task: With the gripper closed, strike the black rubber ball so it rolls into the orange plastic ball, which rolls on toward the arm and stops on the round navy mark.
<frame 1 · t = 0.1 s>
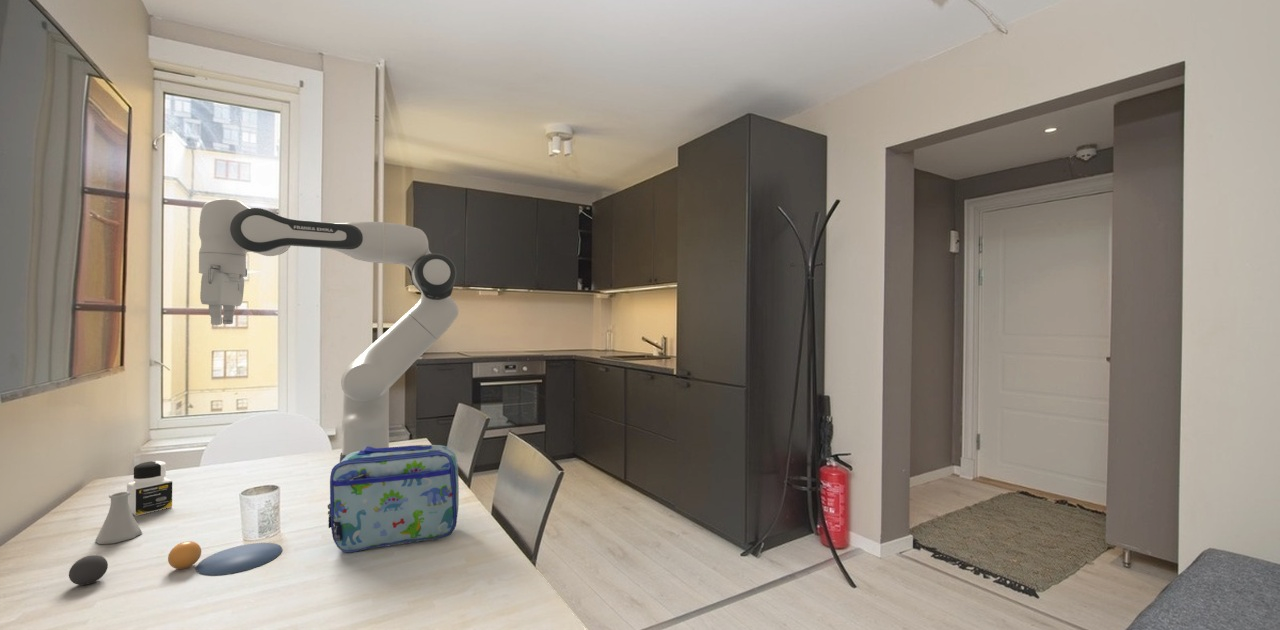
hand: (222, 324, 125), 48 cm above the table, tool pointing down, fingers open, 8 cm apart
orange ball: (184, 555, 103), on the table
lunch box: (396, 541, 116), on the table
flask: (119, 539, 117), on the table
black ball: (88, 569, 97), on the table
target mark: (240, 558, 107), on the table
medicine bottle: (149, 509, 134), on the table
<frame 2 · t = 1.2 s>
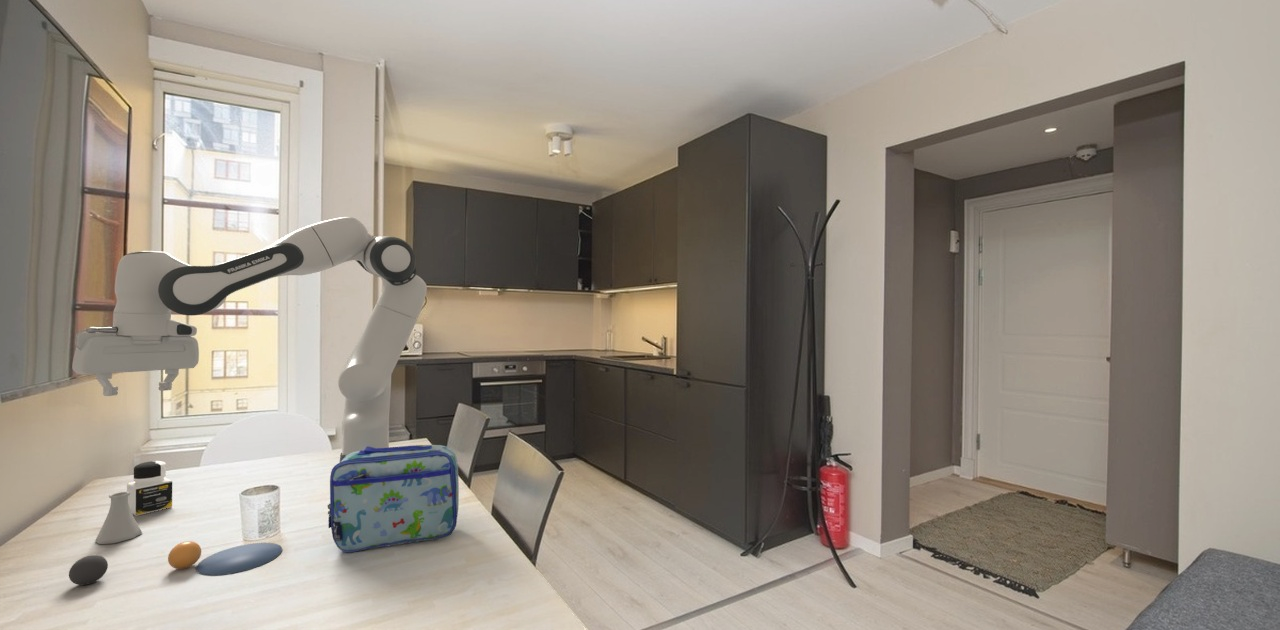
hand: (138, 392, 109), 34 cm above the table, tool pointing down, fingers open, 8 cm apart
nothing on the table moved.
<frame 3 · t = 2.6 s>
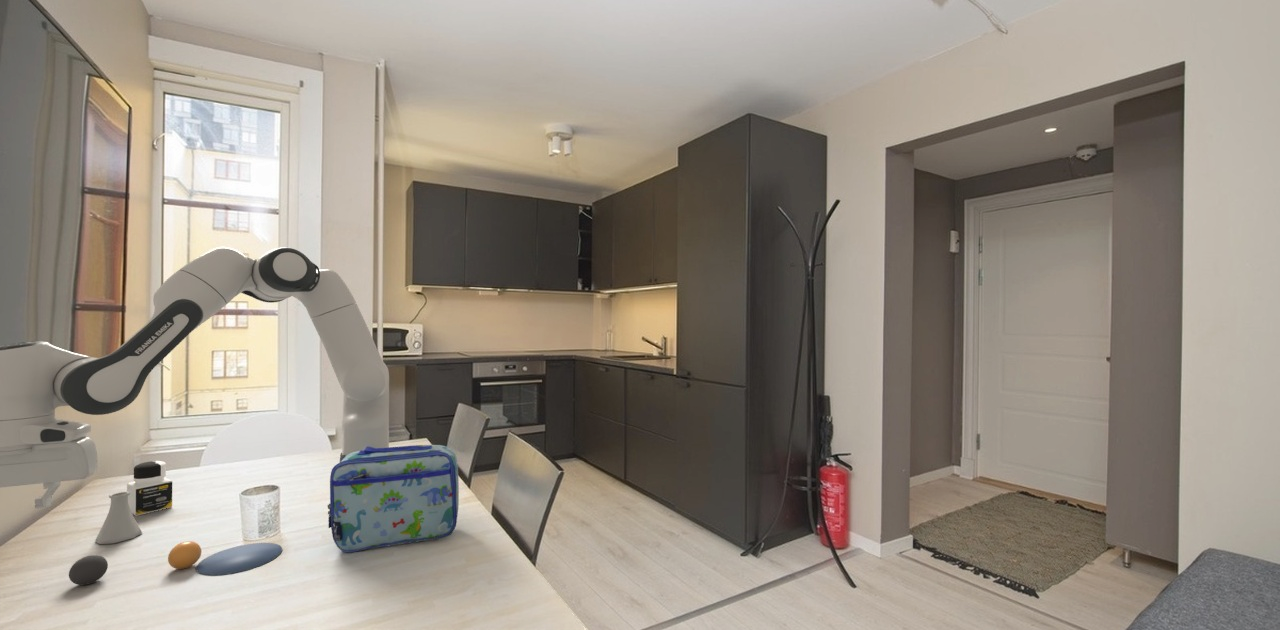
hand: (16, 510, 93), 15 cm above the table, tool pointing down, fingers open, 5 cm apart
nothing on the table moved.
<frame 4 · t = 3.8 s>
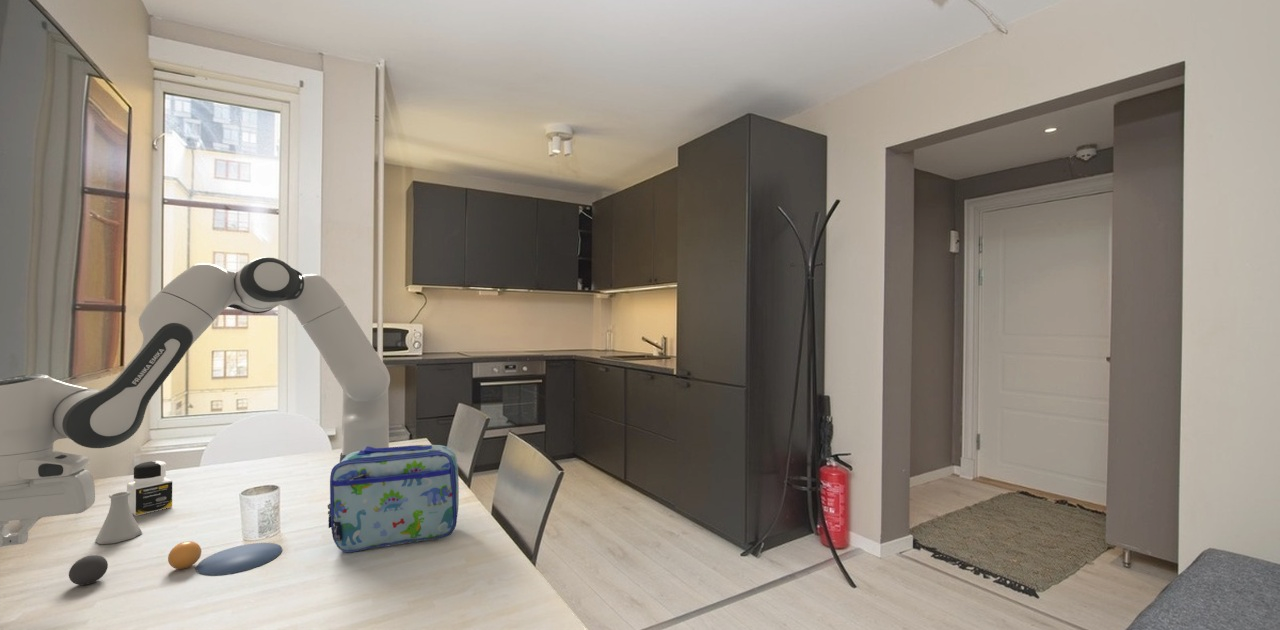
hand: (13, 544, 93), 9 cm above the table, tool pointing down, fingers closed
nothing on the table moved.
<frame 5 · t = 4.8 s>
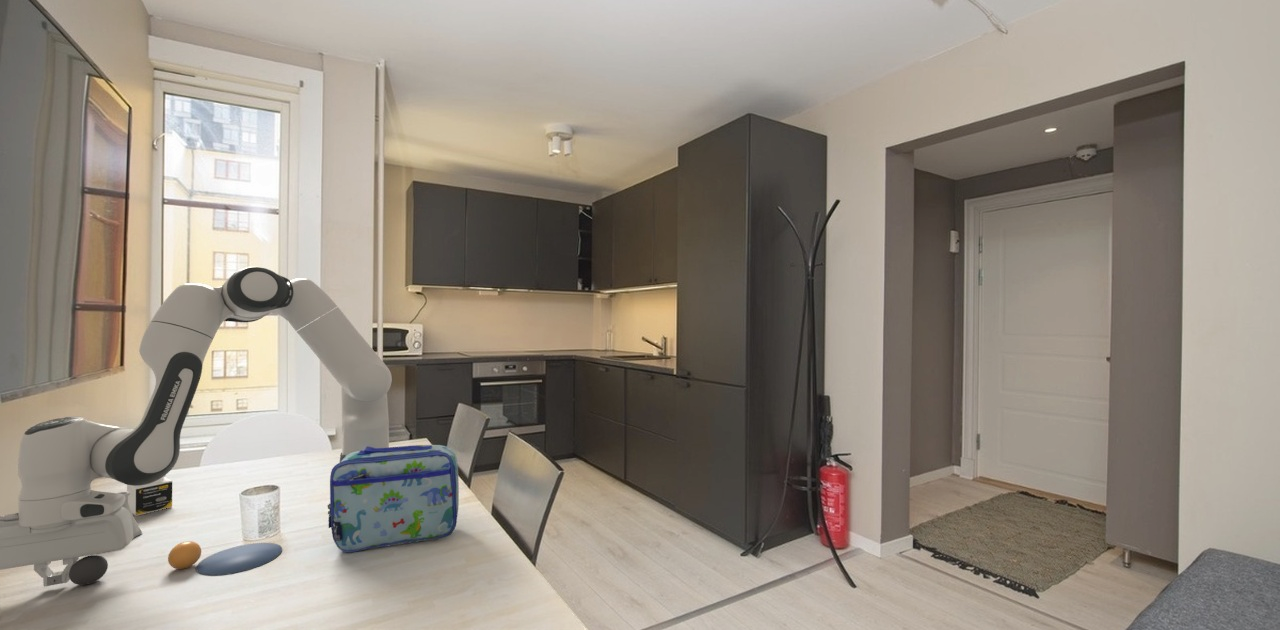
hand: (57, 583, 95), 1 cm above the table, tool pointing down, fingers closed
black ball: (88, 569, 97), on the table, touching gripper
everything else where it was.
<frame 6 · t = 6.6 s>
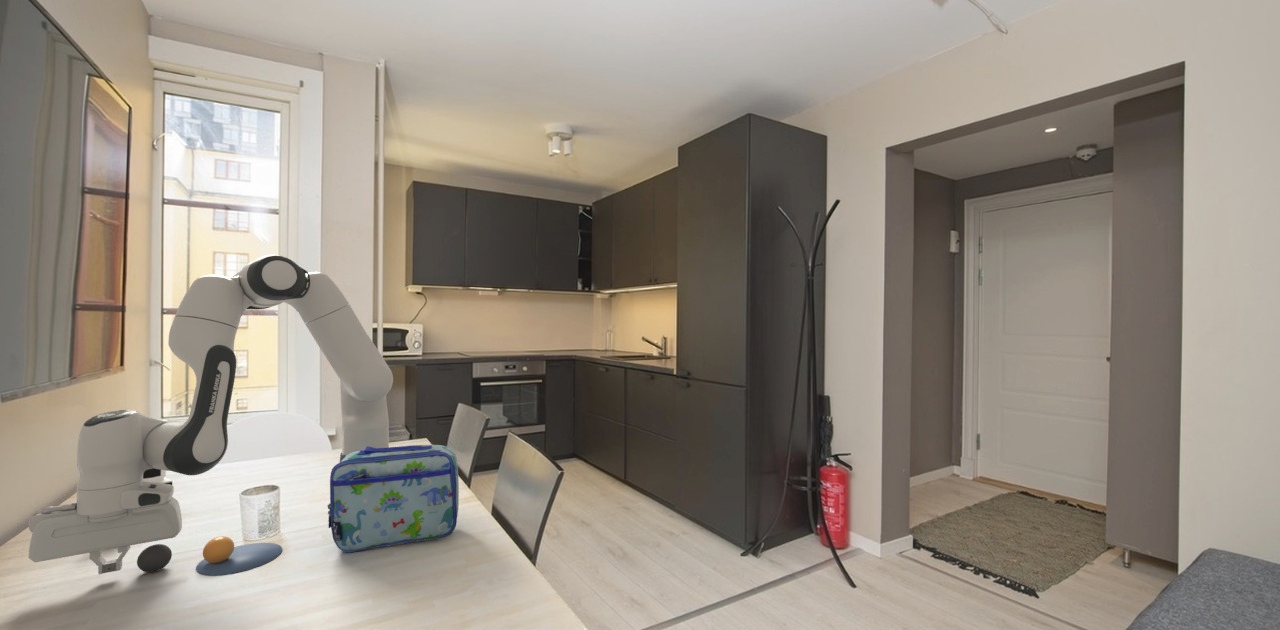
hand: (110, 571, 98), 2 cm above the table, tool pointing down, fingers closed
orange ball: (218, 549, 105), on the table
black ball: (154, 558, 102), on the table
everything else where it was.
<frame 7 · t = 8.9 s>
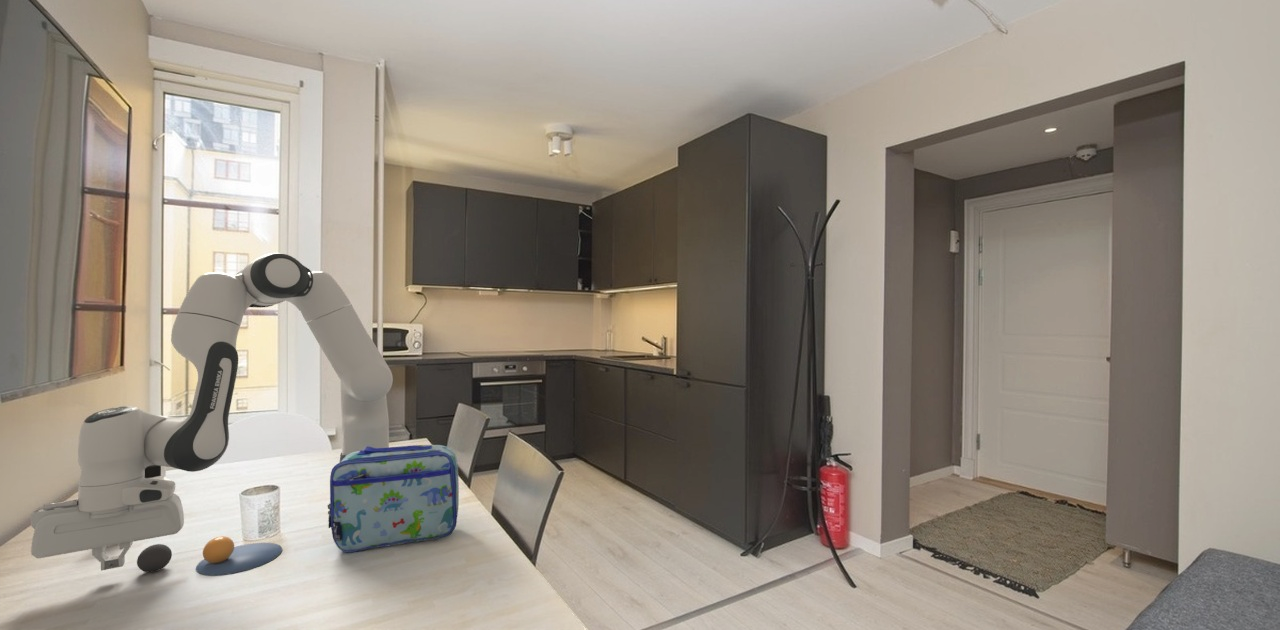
hand: (112, 567, 98), 2 cm above the table, tool pointing down, fingers closed
nothing on the table moved.
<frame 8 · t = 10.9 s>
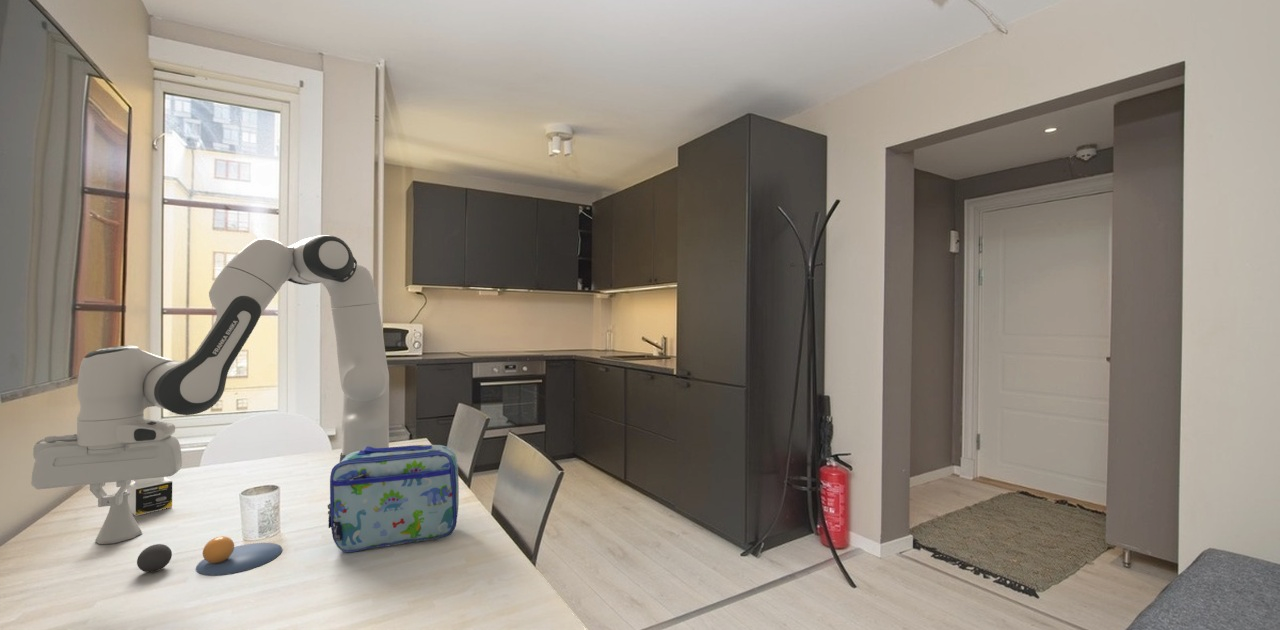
hand: (110, 505, 98), 14 cm above the table, tool pointing down, fingers closed
nothing on the table moved.
at the end: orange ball 3.7 cm from the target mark (horizontally); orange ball never touched the robot; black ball first touched orange ball at 5.3 s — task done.
